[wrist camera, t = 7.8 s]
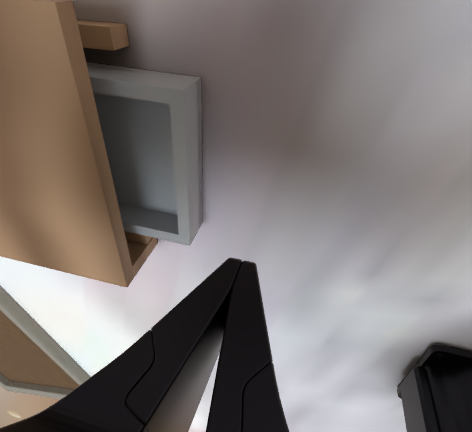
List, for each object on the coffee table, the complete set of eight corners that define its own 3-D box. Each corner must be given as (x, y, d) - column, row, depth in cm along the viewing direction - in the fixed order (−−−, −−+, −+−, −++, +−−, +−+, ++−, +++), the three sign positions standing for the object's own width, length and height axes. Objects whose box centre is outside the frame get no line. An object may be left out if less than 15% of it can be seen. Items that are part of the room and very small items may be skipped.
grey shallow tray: (201, 77, 13) (183, 90, 12) (202, 223, 18) (189, 245, 17) (2, 50, 15) (-37, 58, 13) (52, 191, 20) (28, 209, 18)
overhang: (122, -4, 12) (55, 2, 9) (157, 242, 20) (127, 287, 17) (-63, -17, 14) (-171, -17, 11) (37, 216, 22) (-10, 253, 19)
